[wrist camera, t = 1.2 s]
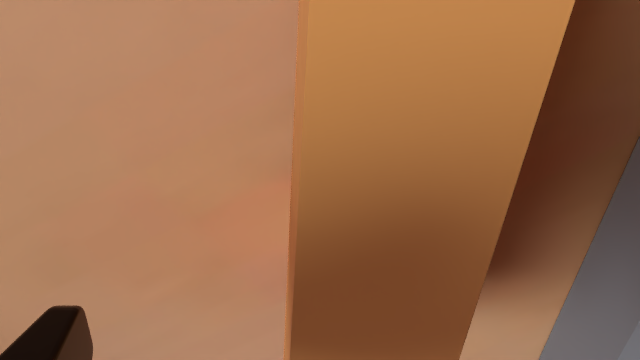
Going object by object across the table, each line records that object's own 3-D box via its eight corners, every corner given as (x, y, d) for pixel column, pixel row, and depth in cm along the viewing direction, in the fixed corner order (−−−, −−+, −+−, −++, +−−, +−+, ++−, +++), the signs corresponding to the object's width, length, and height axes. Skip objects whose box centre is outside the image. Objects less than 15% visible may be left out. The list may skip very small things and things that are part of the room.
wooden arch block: (376, 281, 18) (416, 491, 13) (281, 281, 18) (282, 495, 13) (460, -215, 11) (636, -191, 5) (298, -228, 10) (321, -214, 5)
